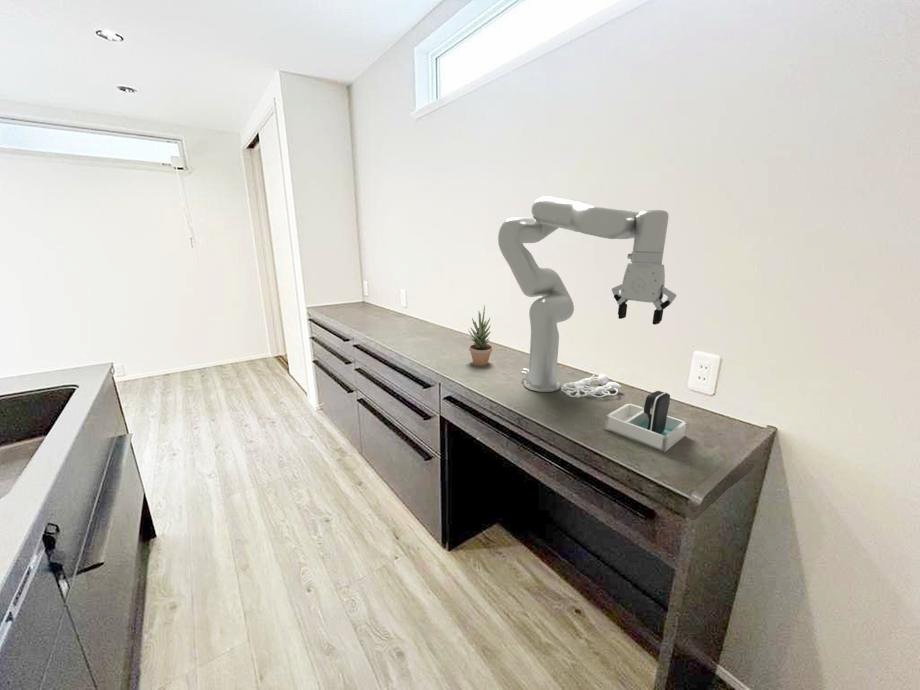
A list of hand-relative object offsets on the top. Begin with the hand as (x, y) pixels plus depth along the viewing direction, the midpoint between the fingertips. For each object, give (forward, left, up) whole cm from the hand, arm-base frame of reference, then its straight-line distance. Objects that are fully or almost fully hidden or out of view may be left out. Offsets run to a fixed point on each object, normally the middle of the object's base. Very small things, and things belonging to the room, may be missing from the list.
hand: (638, 320), depth 109 cm
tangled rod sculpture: (-15, +7, -29) cm, 33 cm away
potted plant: (-62, -1, -28) cm, 68 cm away
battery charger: (+11, -8, -28) cm, 31 cm away
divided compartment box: (+9, -8, -28) cm, 31 cm away
